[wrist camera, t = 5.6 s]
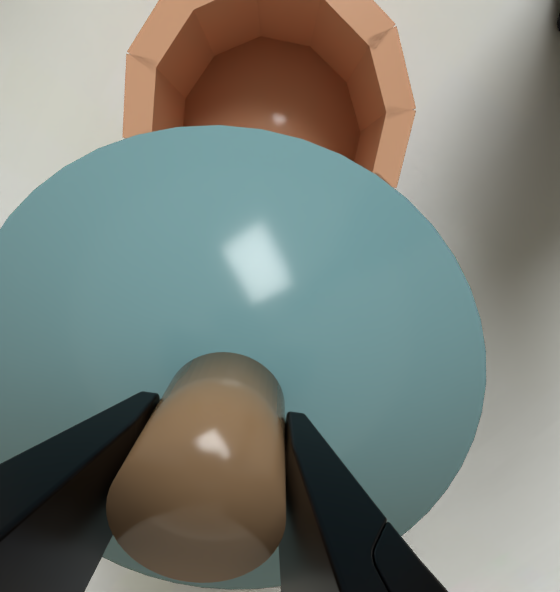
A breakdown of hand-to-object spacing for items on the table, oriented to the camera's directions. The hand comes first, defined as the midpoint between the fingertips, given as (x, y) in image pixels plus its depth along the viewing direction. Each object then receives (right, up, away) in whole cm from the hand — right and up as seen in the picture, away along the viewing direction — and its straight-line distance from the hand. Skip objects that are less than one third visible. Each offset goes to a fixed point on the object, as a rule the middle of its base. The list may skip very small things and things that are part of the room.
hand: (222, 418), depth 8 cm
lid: (0, 0, +1) cm, 1 cm away
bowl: (+1, +10, +9) cm, 14 cm away
